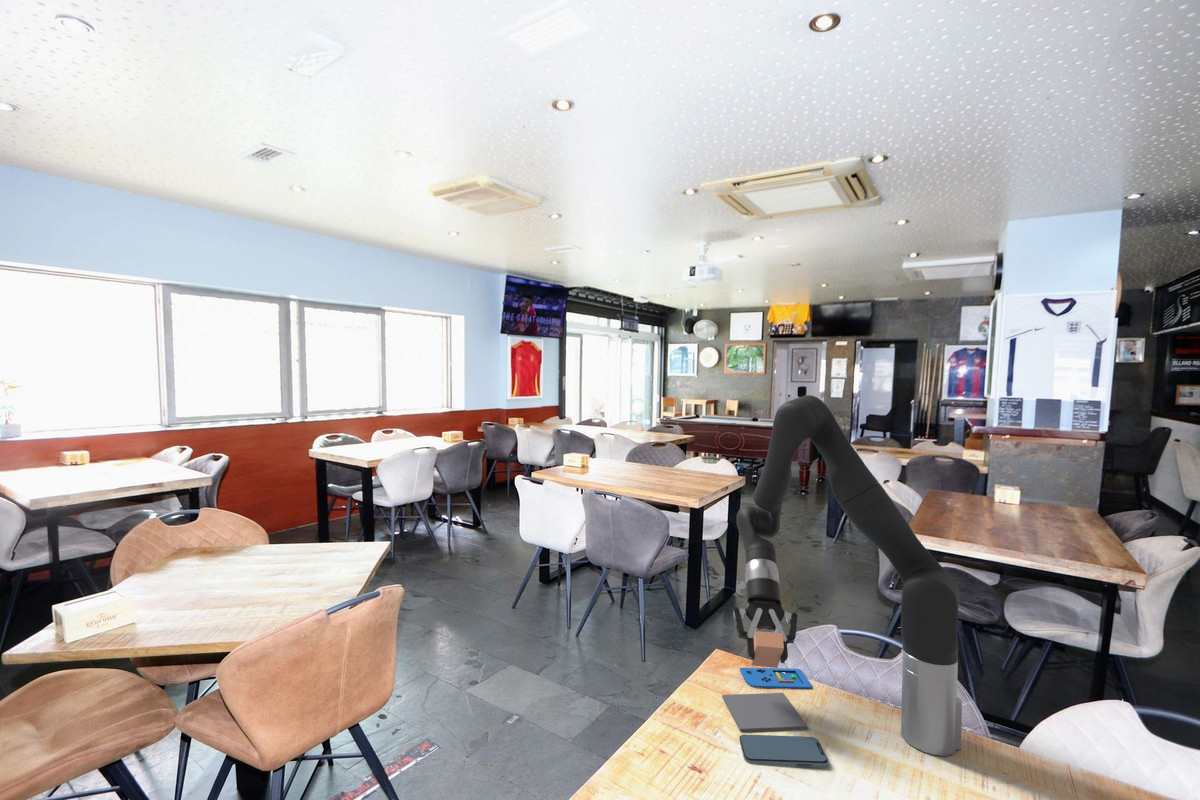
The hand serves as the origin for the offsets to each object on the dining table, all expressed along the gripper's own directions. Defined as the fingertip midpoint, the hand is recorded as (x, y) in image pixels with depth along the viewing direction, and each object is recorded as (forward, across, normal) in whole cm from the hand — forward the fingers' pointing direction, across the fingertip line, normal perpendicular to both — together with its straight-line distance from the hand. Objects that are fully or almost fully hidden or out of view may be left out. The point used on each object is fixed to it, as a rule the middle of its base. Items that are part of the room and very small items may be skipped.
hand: (767, 660), depth 112 cm
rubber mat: (+8, -1, +9) cm, 12 cm away
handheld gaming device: (-2, +4, +20) cm, 20 cm away
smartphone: (+17, +1, +1) cm, 17 cm away
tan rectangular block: (-2, 0, +7) cm, 8 cm away
